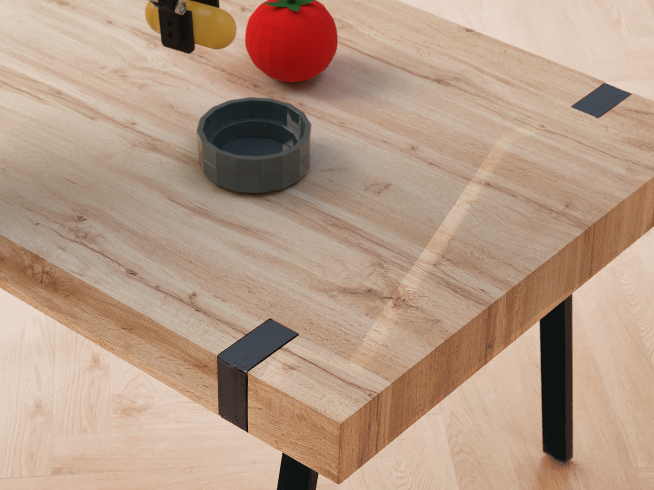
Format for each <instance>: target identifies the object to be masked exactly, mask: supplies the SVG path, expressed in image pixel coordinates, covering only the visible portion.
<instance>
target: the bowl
mask: <svg viewBox="0 0 654 490" xmlns="http://www.w3.org/2000/svg"><path fill="white" fill-rule="evenodd" d="M196 140H197V153H198V164H199V166H200V168H201V171H202V173H203V175H204V176H205V177H206V178H207V179H208V180H210V182H213V184H215V185H216V186H217V187H221V188H224V189H227V190H230V191H234V192H237V193H249V194H251V193H252V194H263V193H264V194H265V193H269V192H275V191H280V190H284V189H285V188H288V187H289V186H291V185H293V184H295V183H298V182H299V181H301V179H302V178H303V177H304V176H305V175H306V174H307V173H308V172H309V171H310V167H311V162H312V161H311V160H312V123H311V122H310V119H309V118H308V116H307V115H306V113H305V112H304V111H302V110H301V109H299V108H298V107H297V106H294V105H293V104H292V103H290V102H285V101H282V100H279V99H275V98H270V97H255V96H254V97H253V96H249V97H242V98H236V99H230V100H229V99H228V100H226V101H224V102H221V103H219V104H217V105H214V106H212V107H211V108H210V109H208V110H207V111H206V112H204V114H203V115H202V116H200V118H199V120H198V124H197V127H196Z"/></svg>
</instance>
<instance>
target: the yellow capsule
mask: <svg viewBox="0 0 654 490" xmlns="http://www.w3.org/2000/svg"><path fill="white" fill-rule="evenodd" d="M187 10H190V11H192V18H193V32H194V43H195V45H198V46H200V47H204V48H208V49H211V50H222V49H225V48H227V47H229V46H230V45H231V44H232V43H233V42H234V40H235V38H236V35H237V28H238V27H237V23H236V20H235V18H234V17H233V15H231V13H230V12H229V11H227V10H225V9H223V8H221V7H220V8H217V7H213V6H209V5H206V4H202V3H198V2H195V1H191V0H187ZM144 17H145V21H146V23H147V25H148V27H149V28H150V29H151V30H152V31H153V32H155V33H157V34H158V35H161V34H160V24H159V14H158V9H157V8H154V6H153V3H151V2H150V1H149V0H148V2H147V4H146V6H145V9H144Z"/></svg>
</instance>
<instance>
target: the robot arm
mask: <svg viewBox="0 0 654 490" xmlns="http://www.w3.org/2000/svg"><path fill="white" fill-rule="evenodd" d="M149 1H150V2H151V3H153V6H154V8H157V9H158V14H159V24H160V34H159V35H160V41H161V45H162V46H163V47H164V48H168V49H171V50H175V51H178V52H181V53H184V54H187V55H188V54H189V55H190V54H192V53H193V52H195V49H196V44H195V43H194V32H193V18H192V11H190V10H187V0H148V2H149ZM191 1H195V2H198V3H202V4H206V5H209V6H213V7H217V8H220V9H221V7H220V0H191Z"/></svg>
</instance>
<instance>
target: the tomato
mask: <svg viewBox="0 0 654 490" xmlns="http://www.w3.org/2000/svg"><path fill="white" fill-rule="evenodd" d="M244 44H245V49H246V52H247V54H248V56H249V58H250V60H251V61H252V63H253V65H254V66H255V67H256V68H257V69H258V70H259V71H261V72H262V73H263V74H264V75H266V76H267V77H269V78H271V79H273V80H277V81H279V82H284V83H301V82H305V81H308V80H310V79H312V78H315V77H317V76H318V75H320V74H321V73H322V72H324V71H325V70H326V69H327V68H328V67H329V65H331V62H332V61H333V59H334V58H335V56H336V53H337V50H338V28H337V25H336V22H335V19H334V17H333V16H332V14H331V12H330V11H328V9H327V8H326V6H325V4H323V3H321V2H320V1H318V0H265V1H263V2H262V3H261V4H259V5H258V6H257V7H256V9H254V11H253V12H252V13H251V15H250V16H249V18H248V20H247V23H246V27H245V34H244Z"/></svg>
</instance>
